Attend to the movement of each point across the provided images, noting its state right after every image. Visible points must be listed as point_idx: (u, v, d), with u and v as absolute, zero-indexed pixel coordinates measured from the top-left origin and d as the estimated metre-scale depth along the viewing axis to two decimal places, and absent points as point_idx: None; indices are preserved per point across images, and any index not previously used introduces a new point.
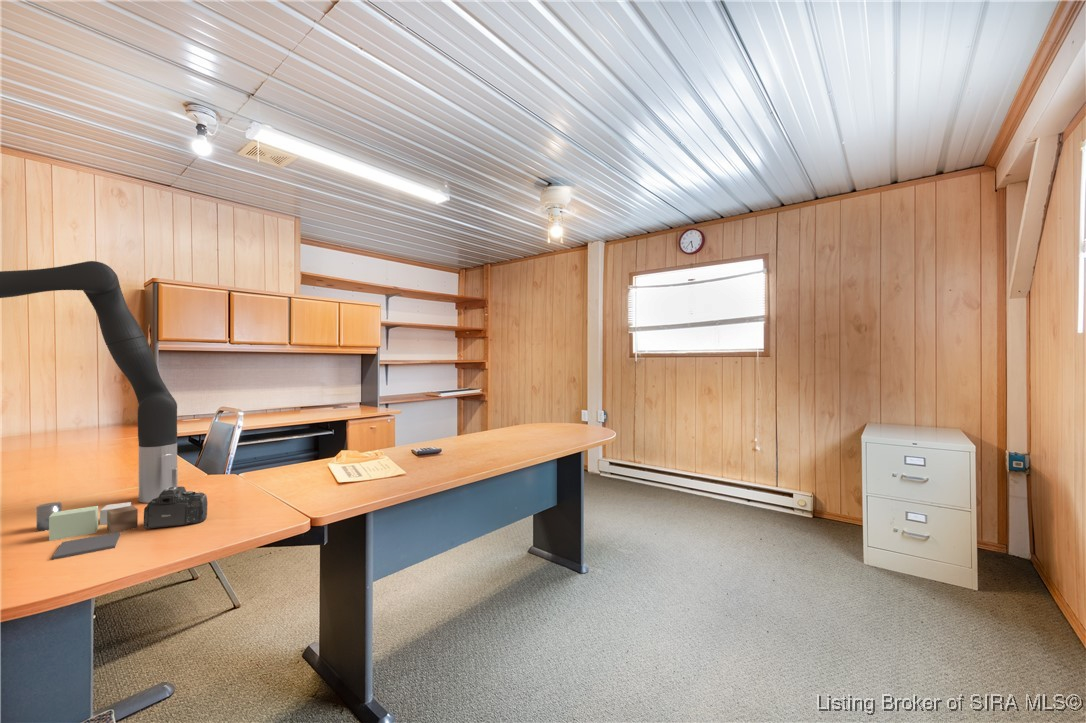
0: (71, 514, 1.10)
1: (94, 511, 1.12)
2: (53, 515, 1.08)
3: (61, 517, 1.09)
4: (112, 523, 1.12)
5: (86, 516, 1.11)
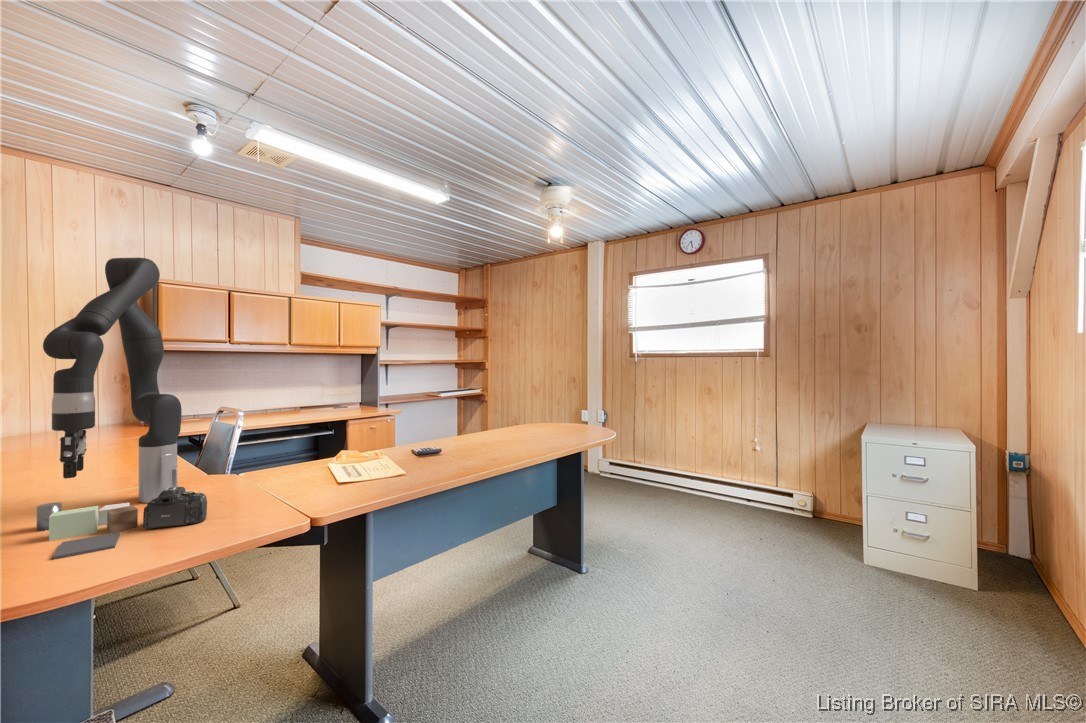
0: (71, 514, 1.10)
1: (94, 511, 1.12)
2: (53, 515, 1.08)
3: (61, 517, 1.09)
4: (112, 523, 1.12)
5: (86, 516, 1.11)
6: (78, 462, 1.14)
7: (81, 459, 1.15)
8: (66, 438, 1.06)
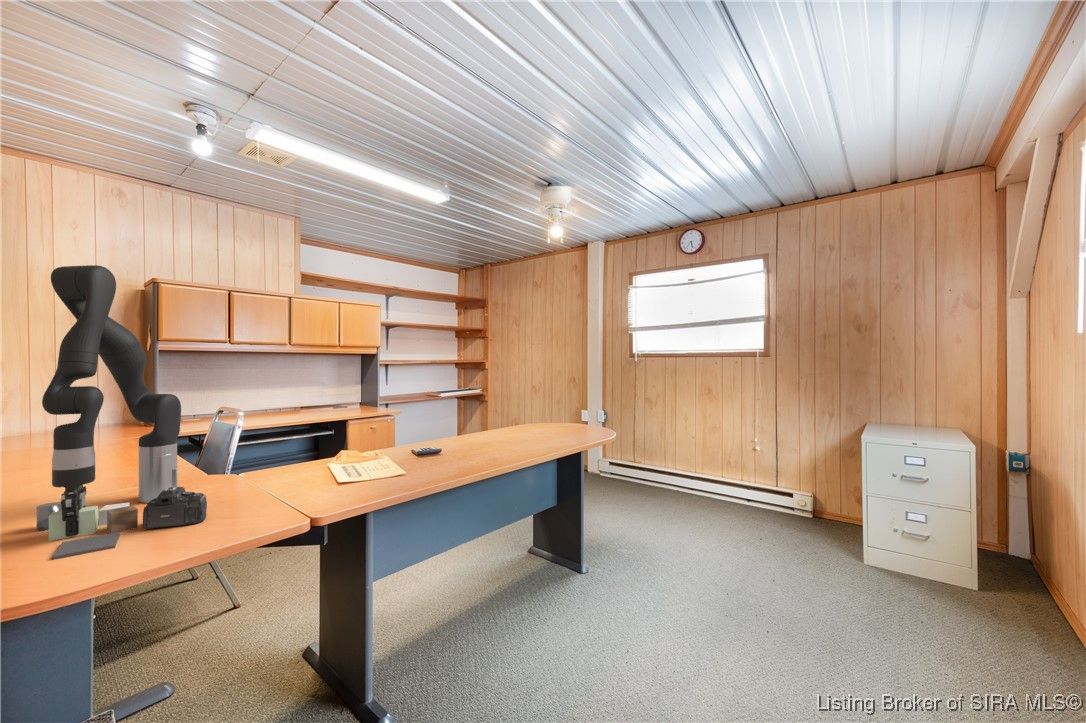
0: (71, 514, 1.10)
1: (94, 511, 1.12)
2: (53, 515, 1.08)
3: (60, 516, 1.08)
4: (112, 523, 1.12)
5: (86, 516, 1.11)
6: None
7: None
8: (66, 501, 1.06)
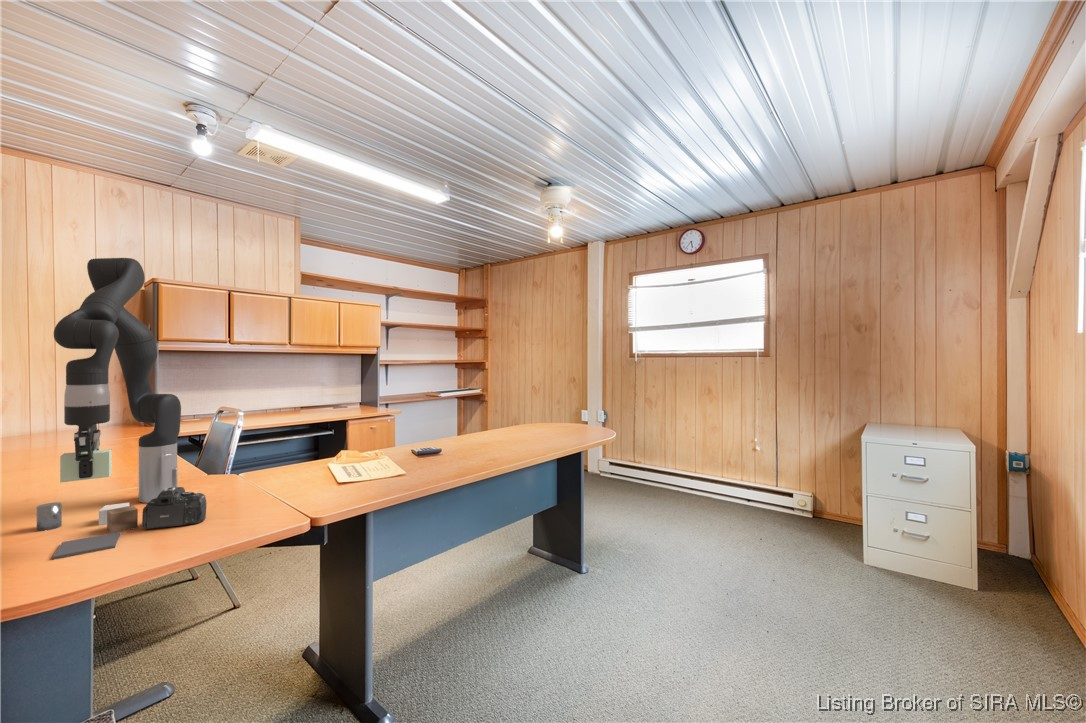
0: None
1: (108, 453, 1.05)
2: (64, 455, 1.01)
3: (73, 457, 1.01)
4: (112, 523, 1.12)
5: (99, 458, 1.04)
6: None
7: None
8: (80, 439, 0.99)
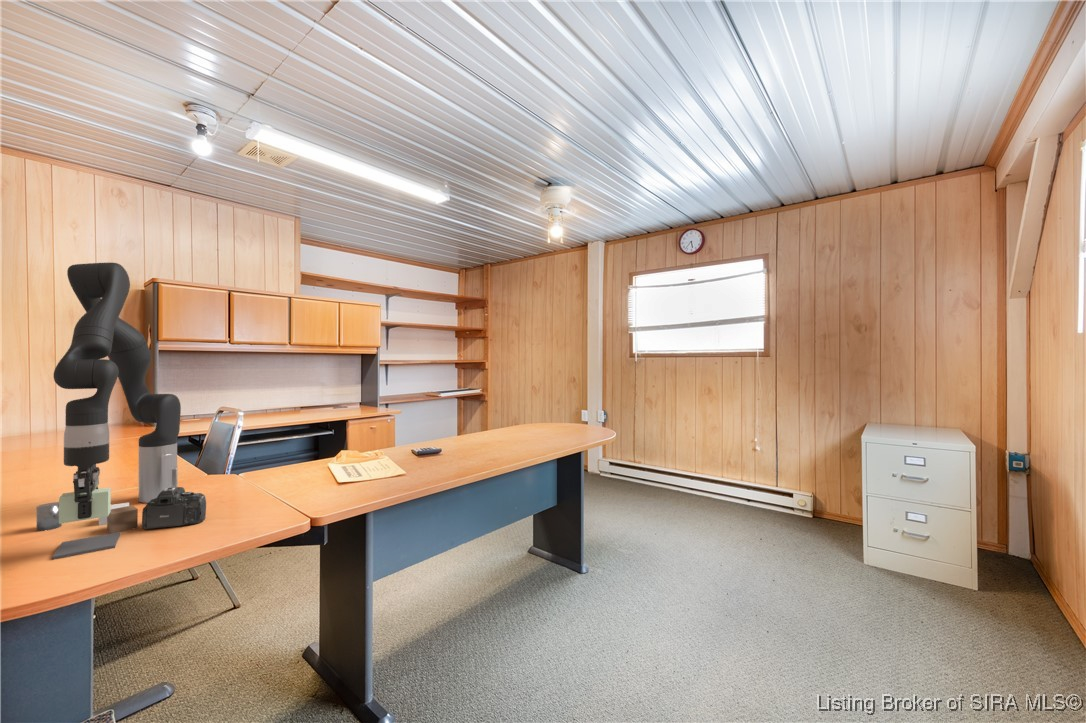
0: (82, 495, 1.02)
1: (107, 492, 1.05)
2: (63, 496, 1.01)
3: (71, 498, 1.01)
4: (112, 523, 1.12)
5: (98, 498, 1.04)
6: None
7: None
8: (79, 481, 0.99)
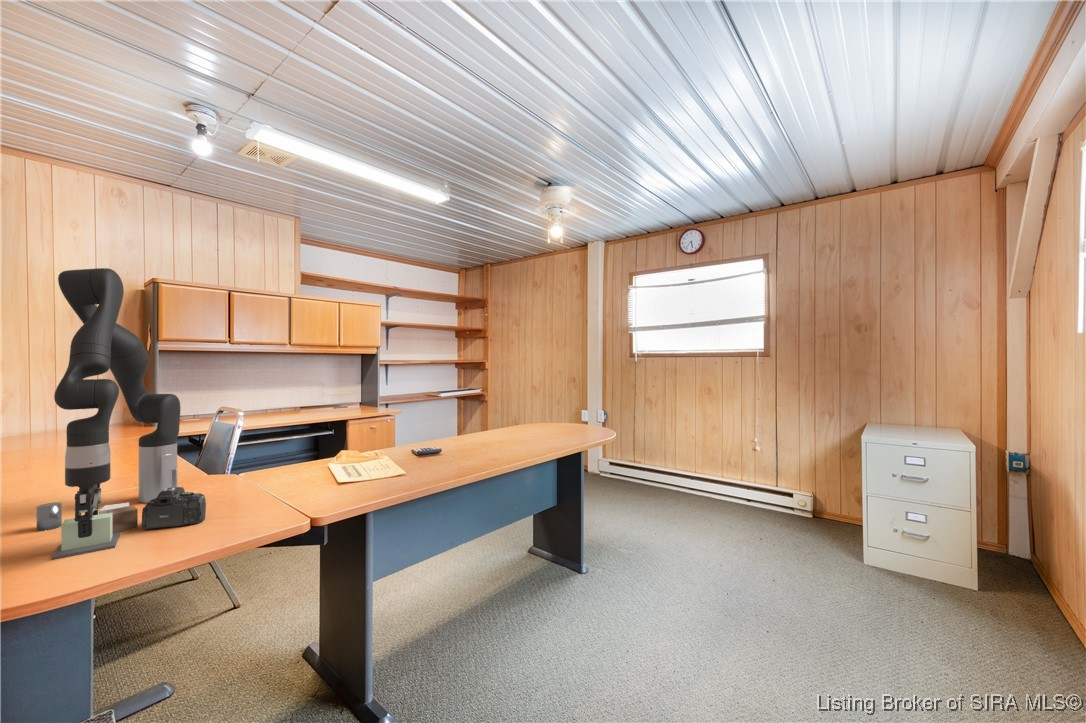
0: None
1: (109, 518, 1.05)
2: (65, 523, 1.01)
3: (74, 524, 1.02)
4: (112, 523, 1.12)
5: (100, 524, 1.04)
6: None
7: (96, 513, 1.08)
8: (81, 496, 0.99)
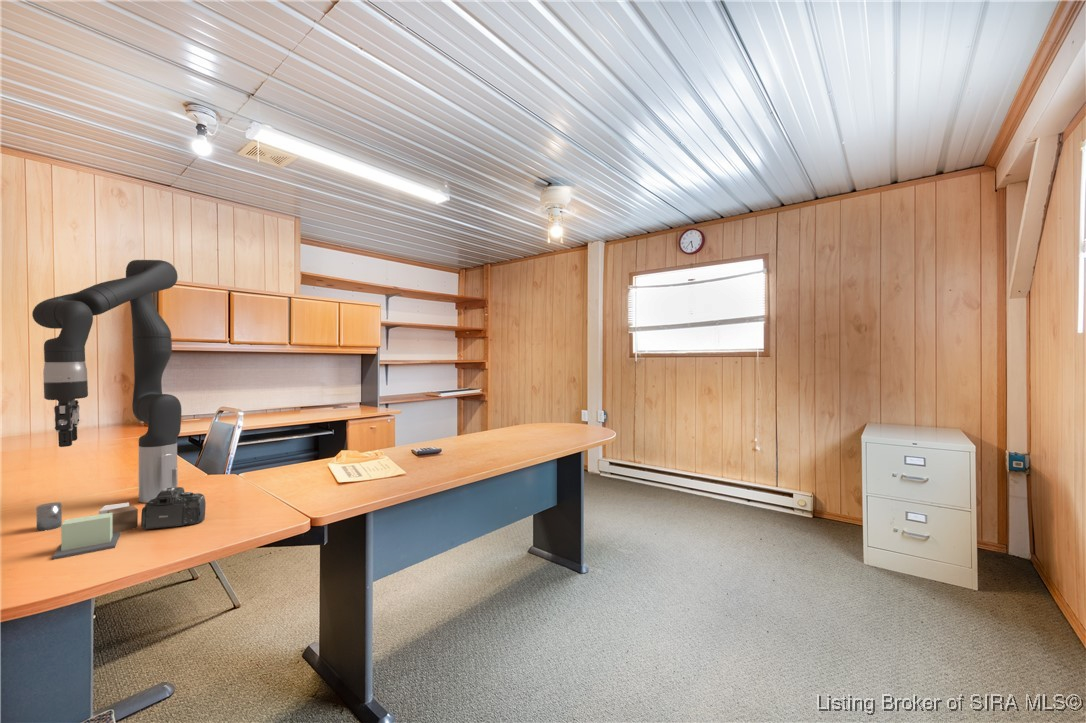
0: (84, 522, 1.03)
1: (109, 518, 1.05)
2: (65, 523, 1.01)
3: (74, 524, 1.02)
4: (112, 523, 1.12)
5: (100, 524, 1.04)
6: (72, 432, 1.14)
7: (75, 429, 1.15)
8: (60, 407, 1.06)
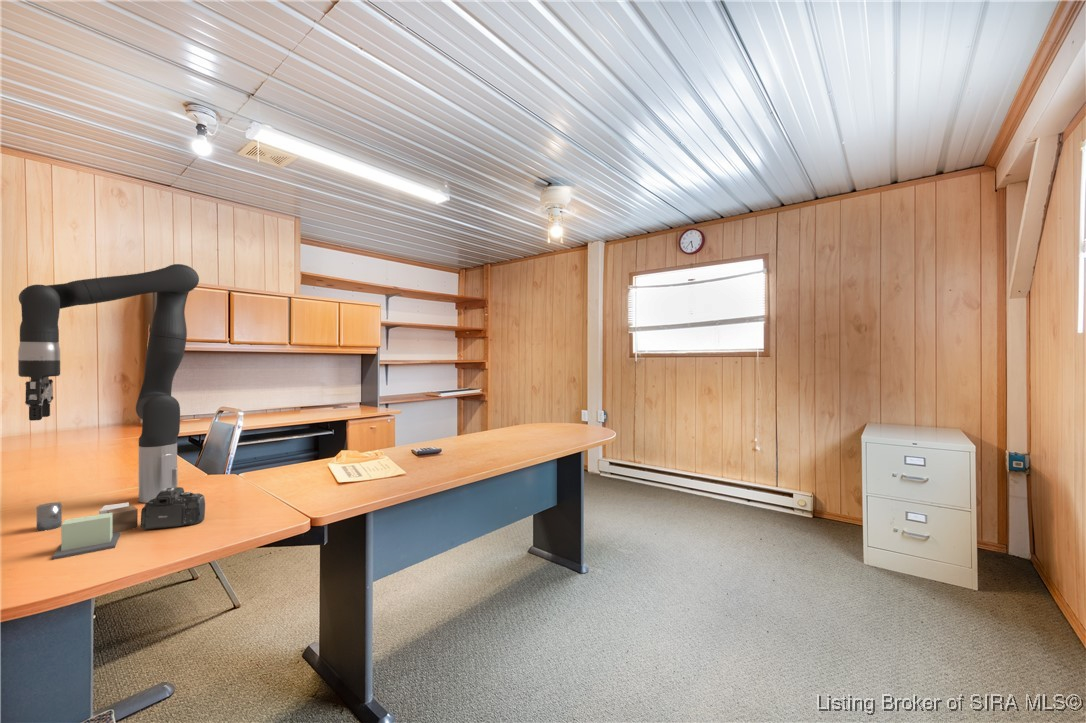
0: (84, 522, 1.03)
1: (109, 518, 1.05)
2: (65, 523, 1.01)
3: (74, 524, 1.02)
4: (112, 523, 1.12)
5: (100, 524, 1.04)
6: (45, 409, 1.23)
7: (48, 406, 1.23)
8: (31, 382, 1.14)
